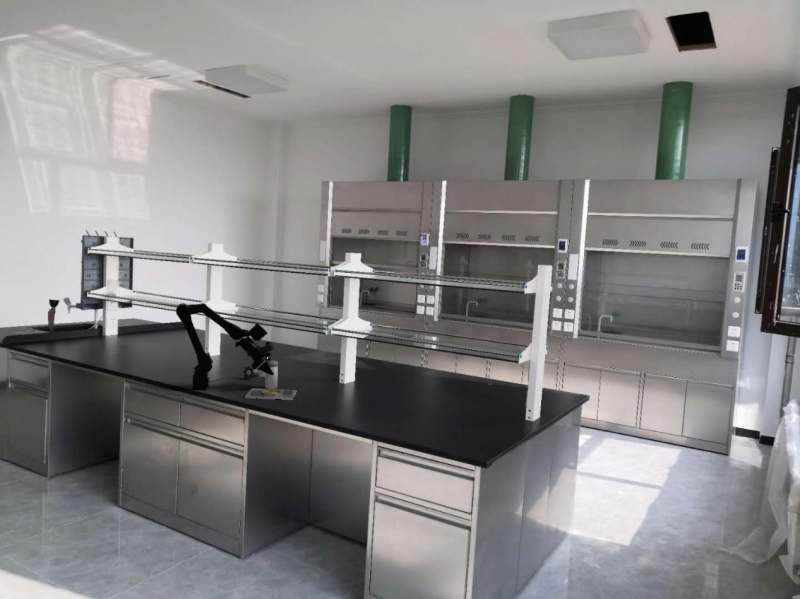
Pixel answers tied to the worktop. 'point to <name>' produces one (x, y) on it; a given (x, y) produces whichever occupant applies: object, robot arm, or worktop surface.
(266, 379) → the domed cap cylinder
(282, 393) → the shaft mount
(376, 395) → the worktop surface
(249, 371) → the valve
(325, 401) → the worktop surface
